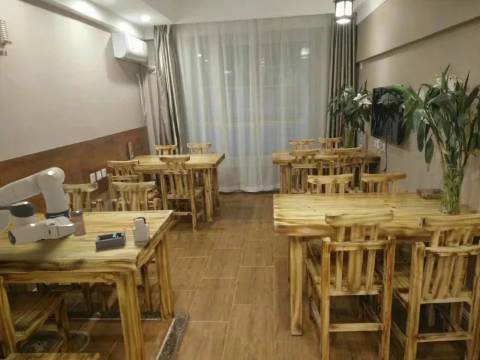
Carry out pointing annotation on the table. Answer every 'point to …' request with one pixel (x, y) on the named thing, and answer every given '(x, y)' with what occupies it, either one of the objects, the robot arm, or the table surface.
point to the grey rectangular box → (110, 240)
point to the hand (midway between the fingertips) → (79, 220)
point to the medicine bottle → (141, 230)
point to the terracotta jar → (78, 216)
